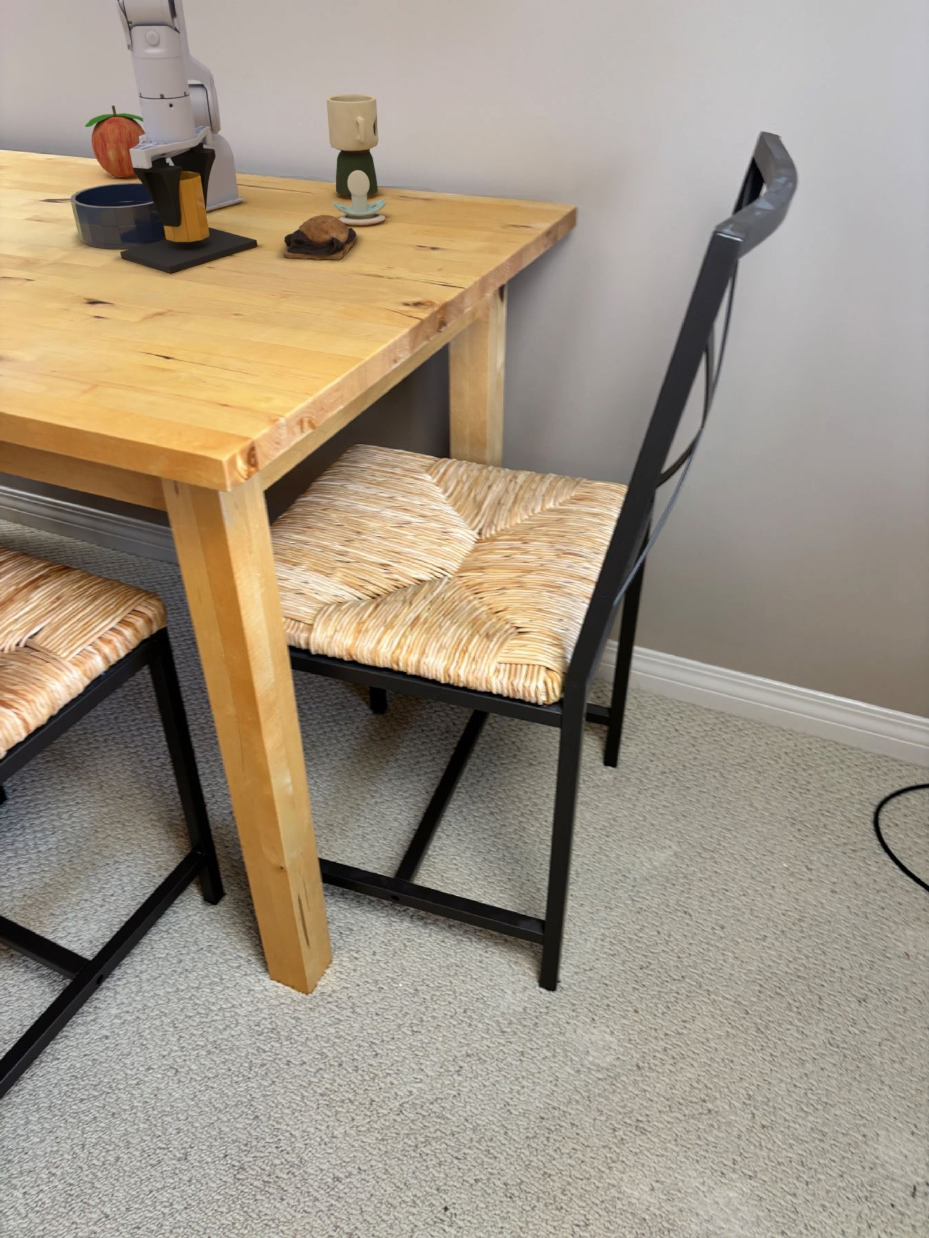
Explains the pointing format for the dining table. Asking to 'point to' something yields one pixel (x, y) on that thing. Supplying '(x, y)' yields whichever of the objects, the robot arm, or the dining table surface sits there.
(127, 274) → the dining table surface
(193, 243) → the pot holder
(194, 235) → the cup
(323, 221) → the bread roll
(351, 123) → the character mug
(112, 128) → the fruit
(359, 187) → the pacifier
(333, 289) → the dining table surface
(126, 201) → the pot
